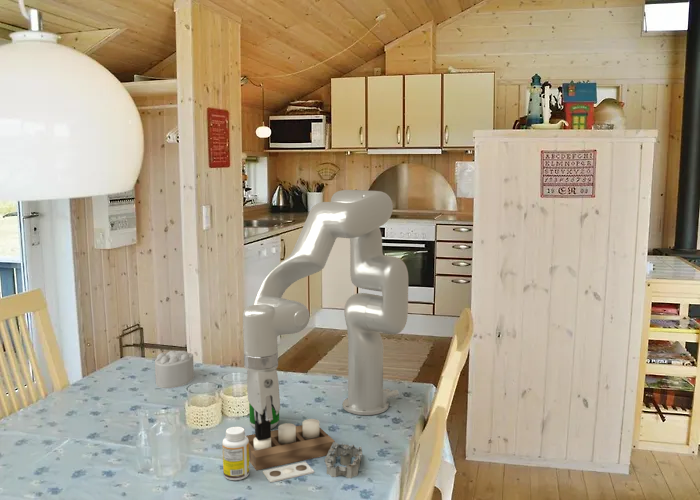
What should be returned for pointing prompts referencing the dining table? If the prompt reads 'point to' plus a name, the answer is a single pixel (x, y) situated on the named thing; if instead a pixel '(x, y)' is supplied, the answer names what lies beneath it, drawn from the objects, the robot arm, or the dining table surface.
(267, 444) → the cream rounded cylinder
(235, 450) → the supplement bottle
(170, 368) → the lumpy-topped squat cylinder
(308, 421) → the button
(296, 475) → the card
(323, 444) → the wooden compartment box
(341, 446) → the grey toy castle
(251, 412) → the soda can
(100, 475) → the dining table surface
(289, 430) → the button middle
